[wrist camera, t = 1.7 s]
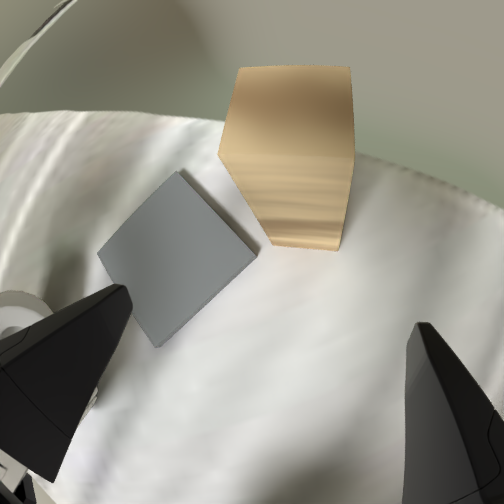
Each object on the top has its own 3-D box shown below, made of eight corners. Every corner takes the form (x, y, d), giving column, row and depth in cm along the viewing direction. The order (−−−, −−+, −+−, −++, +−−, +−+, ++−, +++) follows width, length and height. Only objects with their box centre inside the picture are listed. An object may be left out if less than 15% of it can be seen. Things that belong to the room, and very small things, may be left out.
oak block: (337, 251, 22) (354, 158, 9) (272, 245, 23) (217, 154, 11) (341, 190, 23) (349, 67, 10) (280, 186, 24) (239, 67, 12)
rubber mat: (159, 347, 23) (155, 347, 22) (101, 255, 27) (96, 253, 26) (257, 256, 23) (254, 254, 22) (180, 174, 27) (176, 170, 26)
